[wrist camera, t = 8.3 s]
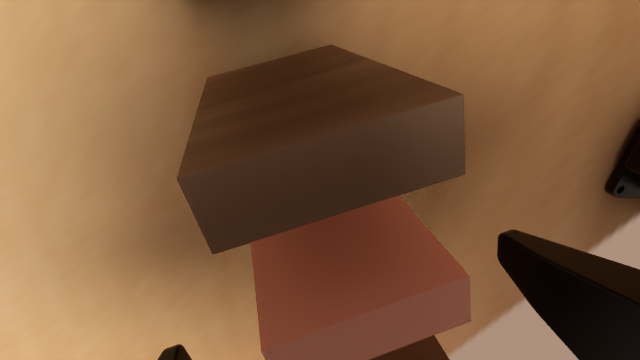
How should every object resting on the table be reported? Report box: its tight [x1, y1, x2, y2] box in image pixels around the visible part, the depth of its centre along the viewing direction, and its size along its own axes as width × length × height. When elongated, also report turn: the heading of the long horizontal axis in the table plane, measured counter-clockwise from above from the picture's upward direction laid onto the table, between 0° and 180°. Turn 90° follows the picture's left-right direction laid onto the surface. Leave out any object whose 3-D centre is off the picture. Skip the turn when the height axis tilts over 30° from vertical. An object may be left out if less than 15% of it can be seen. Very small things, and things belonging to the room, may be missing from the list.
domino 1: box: [177, 45, 465, 254], centre depth 10 cm, size 2×5×9 cm, turn 103°
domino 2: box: [251, 196, 471, 360], centre depth 12 cm, size 2×5×9 cm, turn 104°
